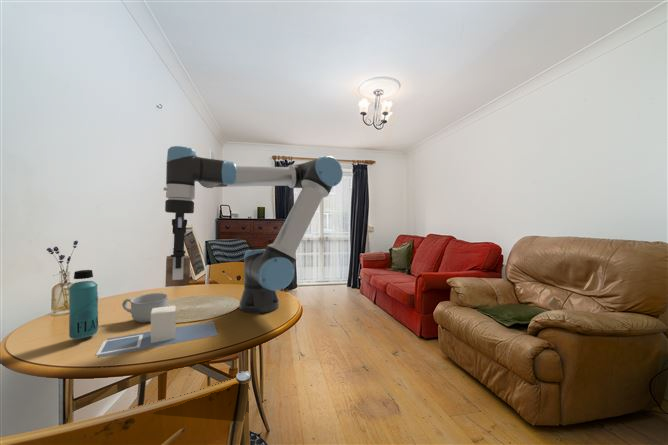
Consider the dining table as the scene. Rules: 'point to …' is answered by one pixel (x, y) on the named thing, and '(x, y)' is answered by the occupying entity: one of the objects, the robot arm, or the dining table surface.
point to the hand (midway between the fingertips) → (177, 277)
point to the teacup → (145, 305)
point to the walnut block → (170, 272)
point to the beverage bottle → (83, 306)
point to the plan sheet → (144, 342)
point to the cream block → (163, 323)
